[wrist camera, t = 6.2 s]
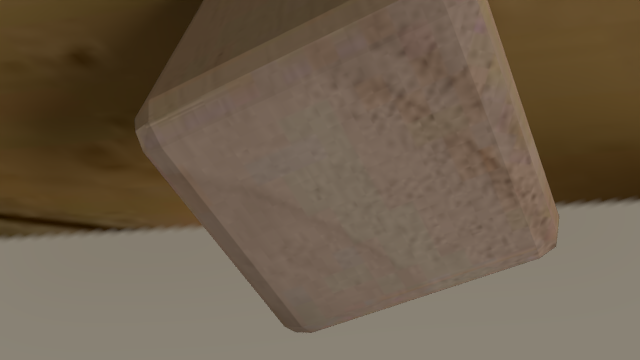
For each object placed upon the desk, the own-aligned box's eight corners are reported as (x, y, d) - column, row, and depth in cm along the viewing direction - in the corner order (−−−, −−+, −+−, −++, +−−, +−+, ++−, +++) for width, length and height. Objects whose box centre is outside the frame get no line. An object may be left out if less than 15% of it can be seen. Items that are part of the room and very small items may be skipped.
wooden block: (306, 96, 36) (290, 352, 20) (223, -50, 31) (107, 133, 15) (454, 28, 33) (577, 260, 17) (390, -143, 28) (477, -48, 12)
